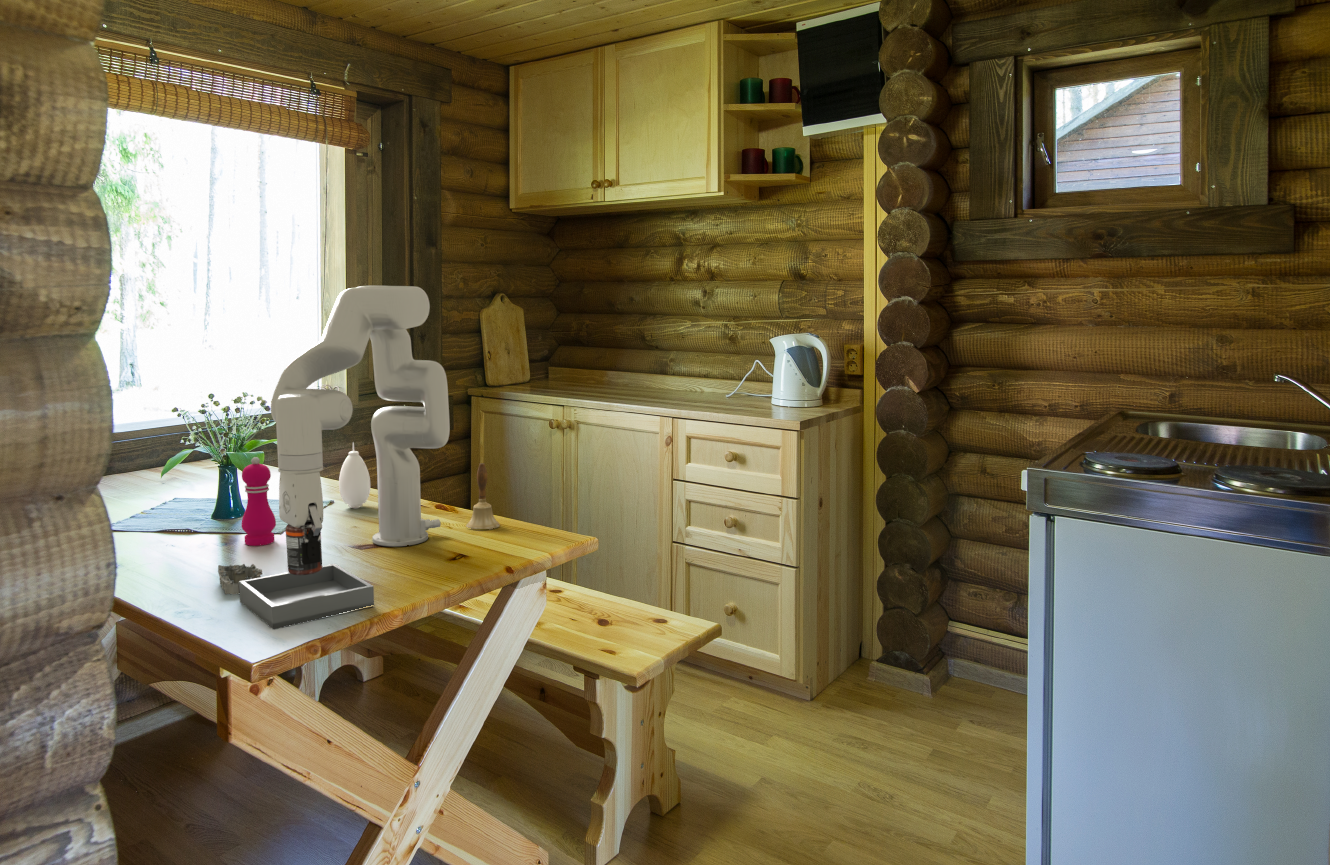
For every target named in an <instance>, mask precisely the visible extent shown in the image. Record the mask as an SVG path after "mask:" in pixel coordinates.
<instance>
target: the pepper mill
mask: <svg viewBox="0 0 1330 865" xmlns="http://www.w3.org/2000/svg"><path fill="white" fill-rule="evenodd" d="M260 462H261V460H260V458H259V457H258V456H254V457H253V458H251V460H250V463H251V464H248V465H247V466H245V467H244V468H243V469H242V472H241V479H242V481H243V483H245V485H244V488H245V490H244V492H245V493H246V494H247V503H246V508H245V511H244V512H243V516H242V519H241V529H242V530H243V531H244V532H245V535H244V544H245V545H247V546H250V547H251V546H252V547H258V546H266V545H271V544H273V543H274V542H275V534H274V532H272V531H274V529H275V528H276V525H277V521H276V517H275V514H274V512H273V511H272V508H271V506H270V504H269V501H268V491H269V490H270V488H269V486H270V484H269V483H268V482H269V481H270V479H271V476H272V475H271V470H270V468H269V467H268V466H267V465H265V464H262V463H260Z"/></svg>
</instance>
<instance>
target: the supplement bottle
mask: <svg viewBox="0 0 1330 865" xmlns="http://www.w3.org/2000/svg"><path fill="white" fill-rule="evenodd" d="M310 524H312V523H311V522H305V525H310ZM306 530H307V534H308V532H309V530H311V528H310V529H306ZM321 533H322V532H321ZM321 533H320V537H321V538H322V534H321ZM285 541H286V542H285V543H286V562H287V563H286V564H287V572H289V573H290V574H293V575H309V574H314V573H316V572H319V571H320V570H321V569H322V566H323V553H322V549H323V548H322V539H321V540H320V551H321V561H320V562H317V563H312V564H306V565H304V564H303V563H302V551H301V543H303V537H302V531H301V526H300V528H295V527H293V526H291V525H289V524H287V525H286V527H285Z"/></svg>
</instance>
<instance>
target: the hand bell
mask: <svg viewBox="0 0 1330 865" xmlns="http://www.w3.org/2000/svg"><path fill="white" fill-rule="evenodd" d="M487 482H488V472H487V467H486V464H485V463H484V462H483V463H482V462H481V463H479V465H478V469H477V473H476V483H477V486H478V502H477V503H476V504H474V505H473V507H472V508H473V510H472V515H471V518H470V520H469V521H468V522H467V524H466V525H465V527H468V528H471V529H470V530H472V529H489V530H494V529H497V528H500V525H501V524H500V522H498V521H497V520H496V518H495V516H494V513H493V508H492V506H493V505H491V504H490V503H488V502H487V496H486V487H487ZM468 528H467V529H468ZM493 528H494V529H493Z"/></svg>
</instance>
